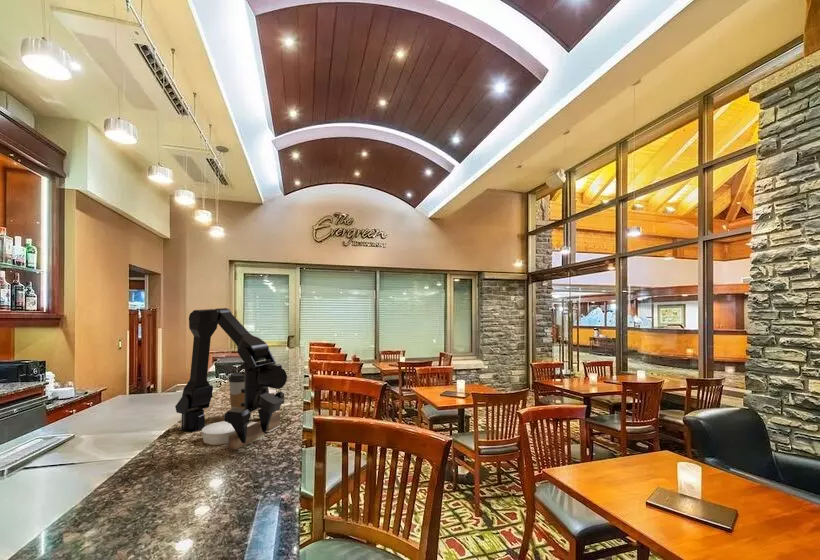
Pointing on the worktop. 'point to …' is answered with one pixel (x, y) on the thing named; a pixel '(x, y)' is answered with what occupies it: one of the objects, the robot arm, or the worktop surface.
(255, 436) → the wooden handled dough scraper
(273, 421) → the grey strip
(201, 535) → the worktop surface
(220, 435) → the ramekin
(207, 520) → the worktop surface
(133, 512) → the worktop surface
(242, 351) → the robot arm
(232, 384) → the coffee cup
